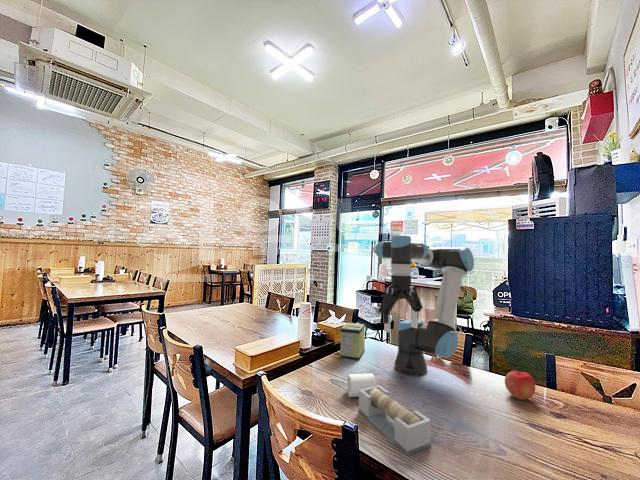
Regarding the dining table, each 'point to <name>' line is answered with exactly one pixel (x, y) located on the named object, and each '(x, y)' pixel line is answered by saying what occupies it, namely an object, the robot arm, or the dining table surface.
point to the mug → (359, 383)
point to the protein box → (352, 341)
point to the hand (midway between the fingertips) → (401, 329)
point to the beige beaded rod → (392, 407)
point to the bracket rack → (396, 425)
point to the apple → (520, 384)
